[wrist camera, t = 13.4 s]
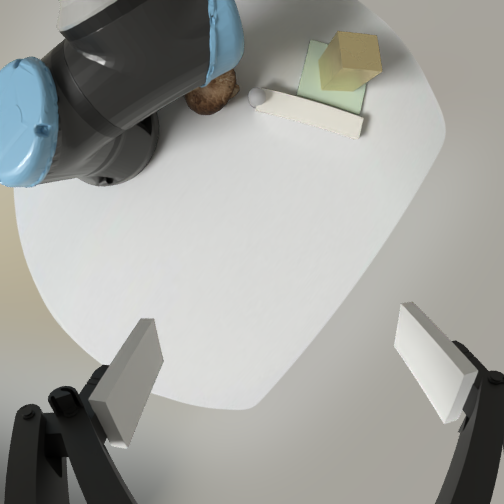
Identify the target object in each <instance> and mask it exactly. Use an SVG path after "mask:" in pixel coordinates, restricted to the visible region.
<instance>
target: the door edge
mask: <svg viewBox="0 0 504 504" xmlns="http://www.w3.org/2000/svg"><path fill="white" fill-rule="evenodd" d="M248 98H249V104H250V105H251V106H252V107H254V108H256V111H258V112H262V113H266V114H270V115H274V116H278V117H282V118H285V119H289V120H293V121H296V122H300V123H304V124H307V125H310V126H314V127H317V128H320V129H324V130H327V131H330V132H333V133H336V134H339V135H342V136H345V137H348V138H351V139H359V136H360V132H361V127H362V123H363V119H364V118H362V117H359V116H356V115H354V114H351V113H348V112H345V111H342V110H339V109H336V108H333V107H330V106H327V105H324V104H320V103H317V102H314V101H310V100H307V99H304V98H300V97H297V96H293V95H289V94H285V93H282V92H278V91H274V90H270V89H265V88H253V89H251V90H250V92H249V94H248Z"/></svg>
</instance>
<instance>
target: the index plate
mask: <svg viewBox="0 0 504 504" xmlns="http://www.w3.org/2000/svg"><path fill="white" fill-rule="evenodd" d="M327 47H328V44H324V43H321V42H318V41H314V40H310V44H309V48H308V52H307V56H306V60H305V64H304V68H303V72H302V75H301V79H300V83H299V87H298V91H297V96H300V97H304V98H307V99H311V100H314V101H317V102H321V103H324V104H327V105H330V106H333V107H336V108H339V109H342V110H345V111H348V112H351V113H354V114H357V115H359V114H360V110H361V106H362V101H363V97H364V92H365V87H366V83H367V82H366V83H365V84H363V85H362V86H360V87H359V88H357V89H356V90H354V91H353V92H350V91H327V90H321V82H320V72H319V63H318V60H319V59H320V57H321V56H322V54H323V53H324V51H325V50H326V48H327Z"/></svg>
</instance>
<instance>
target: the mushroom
mask: <svg viewBox="0 0 504 504" xmlns="http://www.w3.org/2000/svg"><path fill="white" fill-rule="evenodd" d="M239 89H240V87H239V85H237V84H236V75H235V71H234V69H231V70H229V71H228V72H226V73H224V74H222V75H220V76H218V77H216V78H215V79H213V80H211V81H210V83H209V84H208V85H207V86H205V87H202V88H201V87H198V88H196V89H194V90H192V91H190V92H188V93H187V94H185V99H186V102H187V104H188V106H189V108H190V109H192V110H193V111H195V112H196V113H198V114H200V115H212V114H214V113H216V112H218V111H220V110H221V109H222V108H223V107H224V106H225V105H226V104H227V102H228V101H229V99H231V98H233V97H234V96H235V95H236V94H237V93H238V92H239Z"/></svg>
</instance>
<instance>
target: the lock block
mask: <svg viewBox="0 0 504 504" xmlns="http://www.w3.org/2000/svg"><path fill="white" fill-rule="evenodd" d="M318 63H319V72H320V82H321V90H327V91H350V92H353V91H354V90H356V89H357V88H359V87H360V86H362V85H363V84H365V83H366V82H368V81H369V80H371V79H372V78H374V77H375V76H377V75H378V74H380V73H381V72H382V65H381V58H380V51H379V45H378V39H377V36H376V35H369V34H361V33H352V32H342V31H337V33H336V34H335V36H334V37H333V39H332V40H331V42H330V44H329V45H328V47H327V48H326V50H325V51H324V53H323V54H322V56H321V57H320V59H319V60H318Z"/></svg>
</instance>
